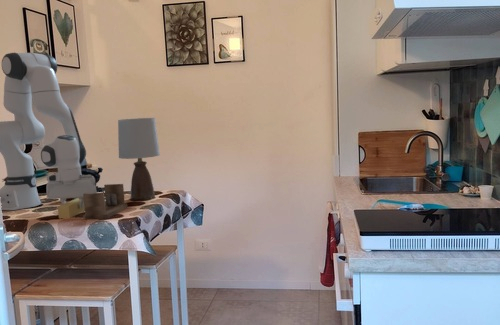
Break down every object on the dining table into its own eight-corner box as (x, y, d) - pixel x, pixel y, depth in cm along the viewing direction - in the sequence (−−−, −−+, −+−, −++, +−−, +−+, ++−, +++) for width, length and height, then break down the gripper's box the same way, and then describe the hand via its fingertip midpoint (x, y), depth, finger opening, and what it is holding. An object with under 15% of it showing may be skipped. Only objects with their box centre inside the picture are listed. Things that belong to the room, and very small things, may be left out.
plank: (58, 218, 184) (57, 206, 184) (78, 209, 200) (76, 198, 200) (69, 218, 184) (68, 206, 183) (88, 209, 200) (86, 197, 199)
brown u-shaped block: (83, 219, 181) (80, 193, 180) (105, 207, 201) (103, 184, 200) (107, 218, 180) (105, 193, 178) (127, 206, 200) (125, 183, 199)
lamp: (153, 201, 208) (147, 118, 204) (115, 201, 212) (108, 120, 208) (168, 193, 226) (163, 117, 222) (133, 193, 230) (127, 118, 226)
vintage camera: (101, 200, 220) (99, 158, 218) (71, 199, 223) (69, 158, 220) (110, 196, 230) (109, 156, 227) (82, 195, 232) (79, 156, 230)
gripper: (97, 173, 192) (100, 206, 194) (50, 174, 194) (54, 207, 196) (90, 175, 186) (94, 209, 187) (42, 177, 188) (46, 210, 190)
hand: (73, 208), depth 192 cm, fingers closed on plank, 4 cm apart
